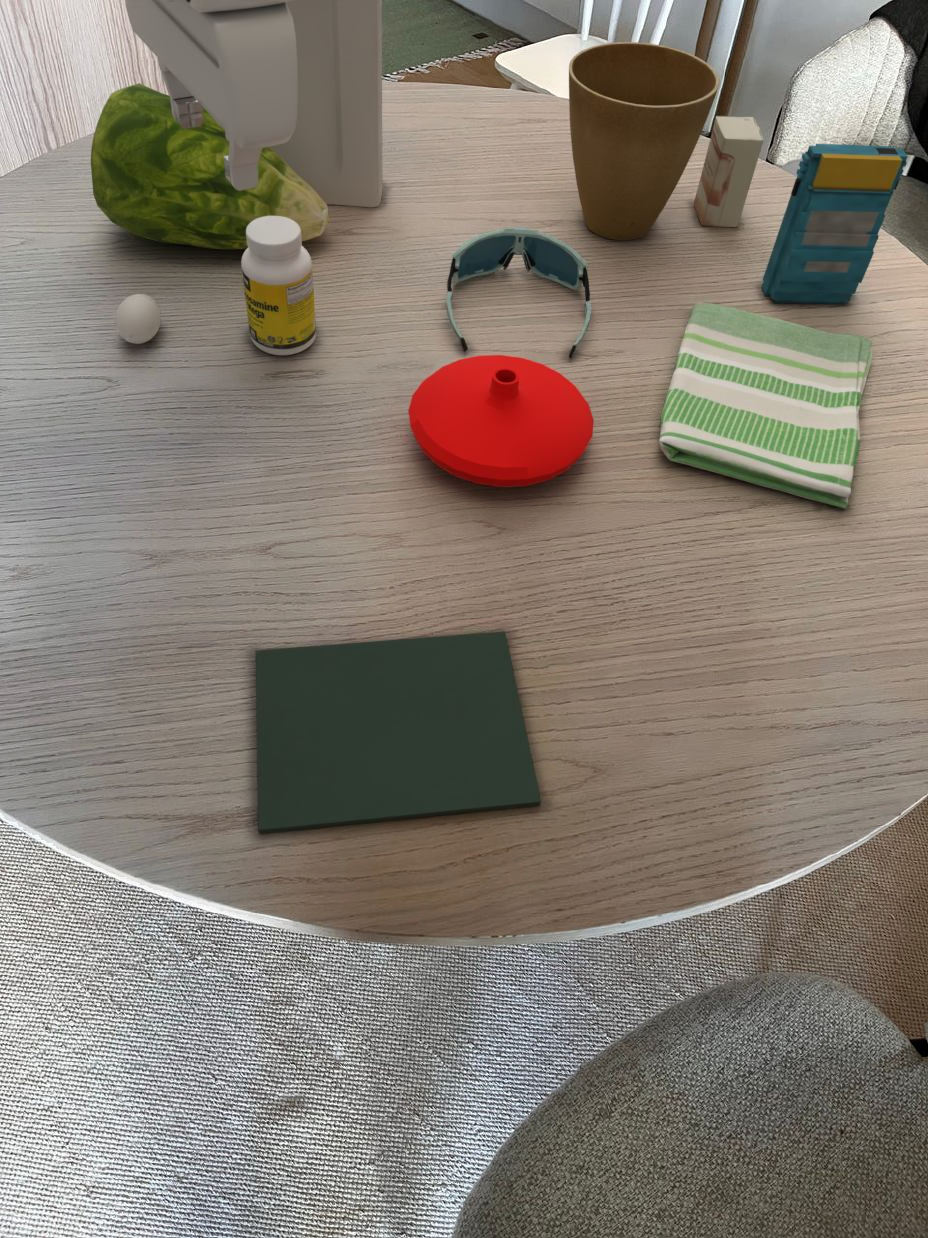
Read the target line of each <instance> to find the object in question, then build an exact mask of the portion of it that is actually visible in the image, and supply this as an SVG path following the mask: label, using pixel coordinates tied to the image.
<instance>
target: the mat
mask: <svg viewBox="0 0 928 1238" xmlns="http://www.w3.org/2000/svg"><path fill="white" fill-rule="evenodd" d="M255 695H256V696H255V701H256V766H257V767H256V769H257V776H256V777H257V778H256V779H257V825H258V826H257V830H258V834H269V833H279V832H280V833H281V832H288V831H298V830H309V829H317V828H319V829H320V828H327V827H337V826H348V825H356V824H367V823H368V824H369V823H376V822H385V821H386V822H387V821H395V820H407V819H418V818H426V817H436V816H445V815H447V816H448V815H455V814H457V815H458V814H465V813H466V814H467V813H474V812H485V811H494V810H505V809H514V808H524V807H534V806H535V807H536V806H541V804H542V803H541V802H542V800H541V795H540V790H539V785H538V780H537V776H536V771H535V767H534V763H533V757H532V753H531V748H530V747H531V746H530V743H529V738H528V733H527V729H526V723H525V719H524V714H523V710H522V704H521V701H520V700H521V699H520V696H519V695H520V694H519V691H518V686H517V682H516V676H515V672H514V667H513V662H512V657H511V653H510V649H509V644H508V639H507V634H506V631H505V630H504V631H490V632H478V633H466V634H454V635H451V634H450V635H441V636H440V635H438V636H425V637H415V638H414V637H412V638H401V639H400V638H399V639H388V640H387V639H386V640H376V641H374V640H373V641H361V642H350V643H349V642H348V643H337V644H336V643H335V644H334V643H333V644H323V645H311V646H310V645H309V646H298V647H297V646H296V647H284V648H283V647H282V648H271V649H260V650H259V649H258V650H257V649H256V650H255Z"/></svg>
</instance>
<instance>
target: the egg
mask: <svg viewBox="0 0 928 1238" xmlns="http://www.w3.org/2000/svg"><path fill="white" fill-rule="evenodd" d="M161 314H162V313H161V310H160V307H159V305H158V303H157V301H155V300H154V298H152V297H151V296H149V295H147V294H144V293H135V294H132V295H128V297H126V298H125V299H123V300H122V302H121V303H120V304H119V306H118V308H117V311H116V313H115V327H116V330H117V332H118V334H119V336H120V337H121V338H122V339H123V340H124V341H126V342H127V343H130V344H135V345H140V344H144V343H147V342H149V341H150V340H152V339H153V338H154V337H155V336H156V335H157V333H158V331H159V328H160V326H161V323H162V317H161V316H162V315H161Z"/></svg>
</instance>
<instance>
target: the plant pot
mask: <svg viewBox="0 0 928 1238" xmlns="http://www.w3.org/2000/svg"><path fill="white" fill-rule="evenodd" d="M719 87H720V77H719V74H718V72H717V71H716V70H715V69H714V68H713V66H711V65H710V64H708V63H707V62H706V61H705V60H703V59H702V58H700V57H698V56H696V55H693V54H692V53H690V52H689V53H688V52H686V51H683V50H681V49H678V48H674V47H670V46H666V45H661V44H656V43H650V42H649V43H648V42H635V41H620V42H619V41H618V42H607V43H602V44H597V45H593V46H590V47H587V48H584V49H582V50H581V51H579V52H577V53H576V54H575V55H574V56H573V57H572V58H571V60H569V63H568V105H569V107H568V108H569V130H570V132H569V133H570V142H571V143H570V144H571V151H572V161H573V167H574V174H575V181H576V187H577V192H578V199H579V202H580V207H581V211H582V216H583V221H584V224H585V225H586V227H587V228H588V229H589V230H590V231H591V232H592V233H594V234H596V235H597V236H600V237H602V238H605V239H609V240H614V241H632V240H637V239H640V238H642V237H644V236H645V235H647V234H648V233H649V231H650V230H651V229H652V227H653V226H654V224H655V223H656V221H657V220H658V218H659V216H660V215H661V213H662V212H663V211H664V208H665V206H667V205H666V204H667V203H668V201H669V200H670V198H671V196H672V194H673V193H674V191H675V189H676V187H677V185H678V184H679V181H680V180H681V177H682V176H683V174H684V171H685V169H686V167H687V165H688V163H689V161H690V159H691V157H692V155H693V152H694V151H695V148H696V146H697V145H698V142H699V139H700V137H701V134H702V132H703V129H704V127H705V125H706V122H707V120H708V117H709V115H710V111H711V109H712V106H713V104H714V101H715V99H716V96H717V93H718V91H719V90H718V89H719Z"/></svg>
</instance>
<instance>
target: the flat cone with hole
mask: <svg viewBox="0 0 928 1238" xmlns="http://www.w3.org/2000/svg"><path fill="white" fill-rule="evenodd" d="M407 412H408V418H409V425H410V429H411V431H412V434H413V437H414V438H415V440H416V442H417V444H418V446H419V447H420V449H421V452H423V454H425V456H426V457H428V458H429V459H430V460H431V461H432V462H433V463H434V464H435V465H436V466H438V467H439V468H440V469H443V470H445V471H446V472H448V473H449V474H450V475H453V476H454V477H457V478H460V479H463V480H466V481H469V482H472V483H475V484H478V485H484V486H485V485H486V486H492V487H498V488H499V487H500V488H509V487H511V488H512V487H527V486H531V485H535V484H538V483H543V482H547V481H549V480H551V479H554V478H556V477H557V476H560V475H561V474H563V473H565V472H566V471H568V470H569V469H570V468H571V467H572V466H573V465H574V464H575V463H576V462H577V461H579V459H580V458H581V457H582V455H583V454H584V453H585V451H586V449H587V448H588V445H589V444H590V441H591V440H592V438H593V434H594V422H595V419H594V417H593V414H592V410H591V407H590V404H589V402H588V401H587V399H586V398H585V396H584V395H583V394H582V393H581V392H580V390H579V389H578V387H577V386H576V385H575V384H573V382H571V381H570V380H569V379H568V378H567V377H566V376H564V375H563V374H562V373H560V372H558V371H557V370H555V369H553V368H551V367H549V366H547V365H545V364H544V363H541V362H537V361H535V360H531V359H528V358H524V357H519V356H511V355H505V354H485V355H483V354H480V355H475V356H470V357H466V358H461V359H458V360H455V361H453V362H451V363H448V364H445V365H443V366H442V367H440V368H439V369H437V370H436V371H435V372H432V374H430V375H429V376H428V377H426V378H425V379H424V380H422V382H420V384H419V386H418V387H417V388H416V390H415V391H414V392H413V393H412V396H411V399H410V403H409V406H408V410H407Z"/></svg>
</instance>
